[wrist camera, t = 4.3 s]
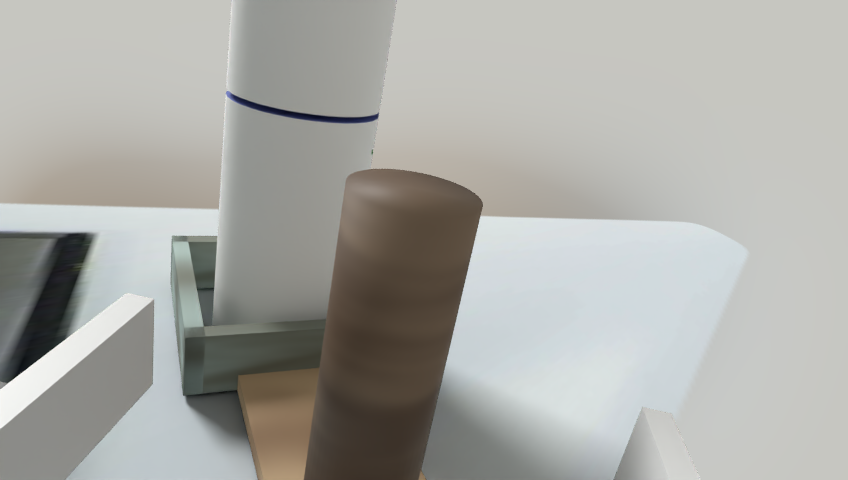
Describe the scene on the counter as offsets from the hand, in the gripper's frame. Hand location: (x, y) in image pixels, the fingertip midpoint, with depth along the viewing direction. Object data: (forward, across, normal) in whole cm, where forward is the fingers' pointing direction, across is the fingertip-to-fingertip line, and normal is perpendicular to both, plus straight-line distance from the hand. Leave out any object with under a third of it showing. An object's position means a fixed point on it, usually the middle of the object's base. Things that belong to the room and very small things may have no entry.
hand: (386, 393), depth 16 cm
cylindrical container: (+15, -7, -9) cm, 19 cm away
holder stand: (+10, -5, -8) cm, 14 cm away
